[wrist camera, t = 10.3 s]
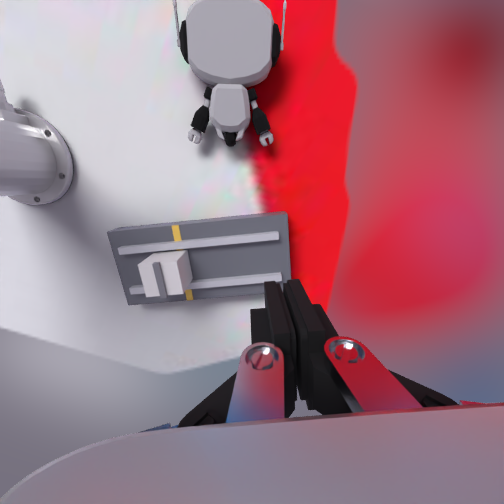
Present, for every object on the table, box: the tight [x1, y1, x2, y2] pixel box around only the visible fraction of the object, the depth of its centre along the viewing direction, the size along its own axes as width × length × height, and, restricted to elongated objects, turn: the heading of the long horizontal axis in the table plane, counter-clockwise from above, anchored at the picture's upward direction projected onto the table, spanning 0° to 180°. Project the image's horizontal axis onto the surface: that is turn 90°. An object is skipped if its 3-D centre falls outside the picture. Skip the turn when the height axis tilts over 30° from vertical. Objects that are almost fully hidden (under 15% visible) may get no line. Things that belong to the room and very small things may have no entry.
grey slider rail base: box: [107, 211, 291, 305], centre depth 36 cm, size 12×26×4 cm, turn 96°
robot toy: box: [173, 0, 286, 146], centre depth 29 cm, size 12×4×15 cm
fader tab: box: [138, 250, 193, 298], centre depth 32 cm, size 5×5×6 cm
